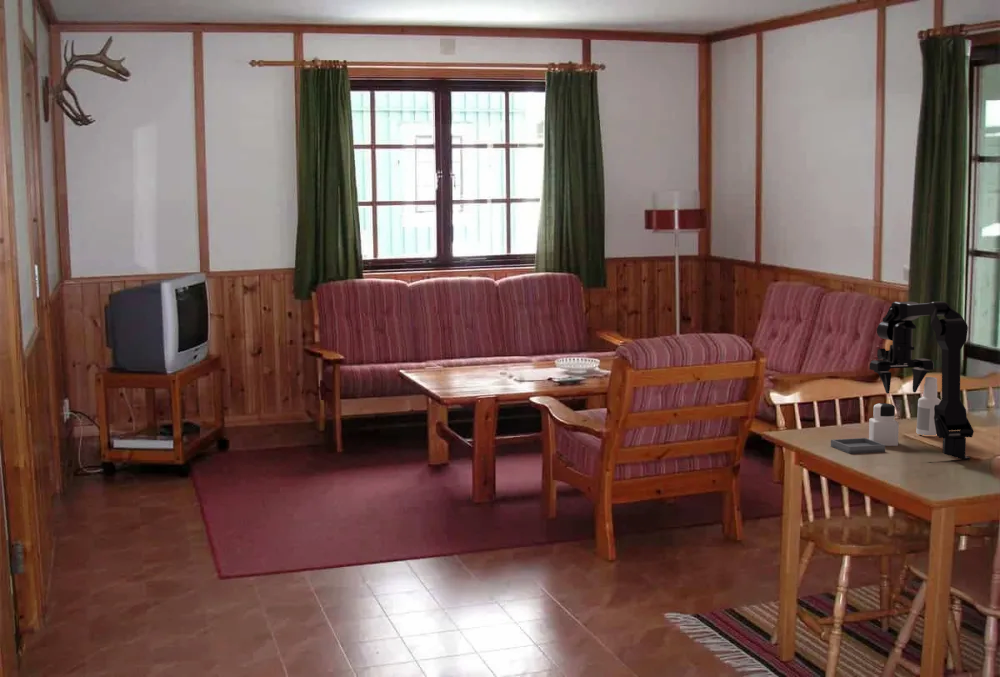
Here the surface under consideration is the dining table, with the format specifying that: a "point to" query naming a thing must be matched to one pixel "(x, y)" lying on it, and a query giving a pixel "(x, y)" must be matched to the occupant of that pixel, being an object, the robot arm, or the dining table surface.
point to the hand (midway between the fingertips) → (900, 392)
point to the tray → (857, 445)
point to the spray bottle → (927, 408)
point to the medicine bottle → (884, 425)
